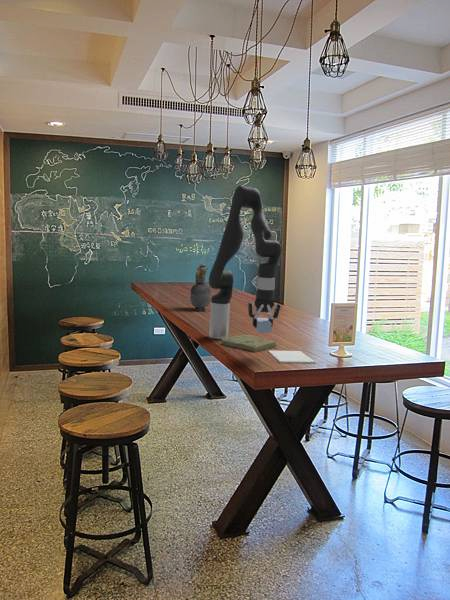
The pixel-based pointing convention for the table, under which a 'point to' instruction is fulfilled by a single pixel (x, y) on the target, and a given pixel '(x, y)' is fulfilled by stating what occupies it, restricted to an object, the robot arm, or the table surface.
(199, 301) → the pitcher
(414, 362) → the table surface
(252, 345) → the decorative tile
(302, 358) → the mat
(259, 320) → the block
